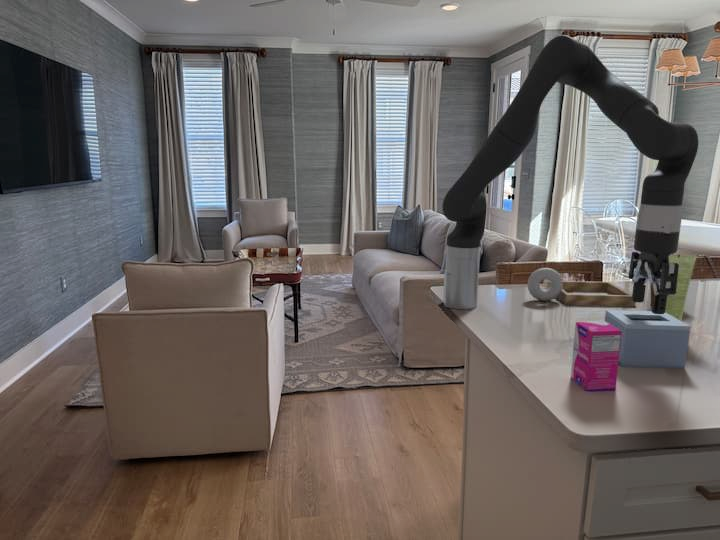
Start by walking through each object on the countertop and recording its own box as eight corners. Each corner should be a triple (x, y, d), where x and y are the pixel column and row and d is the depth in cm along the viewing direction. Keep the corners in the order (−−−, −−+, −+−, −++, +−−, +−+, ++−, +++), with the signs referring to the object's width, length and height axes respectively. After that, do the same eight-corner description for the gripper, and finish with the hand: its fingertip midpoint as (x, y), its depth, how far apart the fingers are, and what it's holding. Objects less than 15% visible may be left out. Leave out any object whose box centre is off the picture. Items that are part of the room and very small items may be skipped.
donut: (559, 300, 152) (562, 267, 150) (562, 303, 149) (566, 269, 147) (525, 298, 153) (527, 266, 151) (527, 301, 150) (530, 268, 148)
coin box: (621, 367, 101) (626, 324, 99) (601, 350, 111) (605, 310, 109) (684, 370, 101) (690, 326, 99) (658, 351, 110) (663, 311, 109)
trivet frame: (565, 304, 147) (566, 294, 146) (546, 289, 165) (547, 280, 164) (635, 306, 146) (636, 296, 145) (608, 291, 164) (609, 281, 163)
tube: (664, 330, 125) (675, 251, 121) (685, 336, 121) (697, 254, 117) (649, 333, 123) (660, 252, 119) (670, 339, 118) (681, 256, 114)
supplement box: (568, 379, 96) (574, 320, 93) (599, 378, 96) (605, 320, 94) (584, 393, 90) (591, 330, 88) (616, 392, 90) (624, 330, 88)
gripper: (622, 223, 107) (613, 298, 111) (656, 232, 94) (645, 317, 97) (659, 224, 107) (649, 299, 110) (698, 233, 93) (686, 318, 96)
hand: (647, 307), depth 104 cm, fingers open, 8 cm apart
